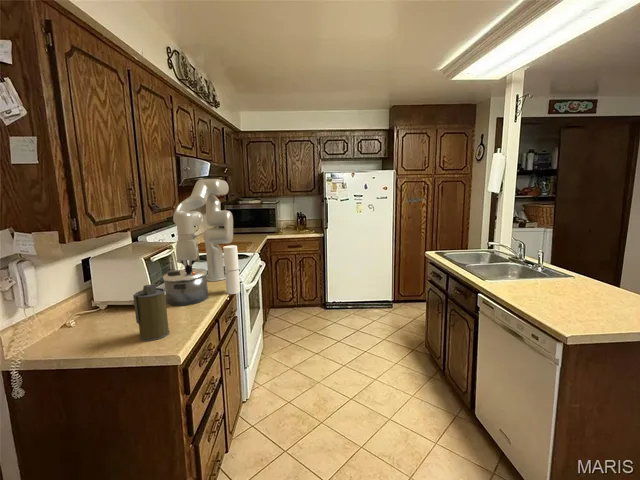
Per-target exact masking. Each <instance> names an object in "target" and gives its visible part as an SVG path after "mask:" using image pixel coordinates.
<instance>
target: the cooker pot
mask: <svg viewBox="0 0 640 480" xmlns="http://www.w3.org/2000/svg"><path fill="white" fill-rule="evenodd" d="M207 276H208V274H206V275H205V276H203V277H201V278H198V279H194V280H188V281H180V282H169V281H165V280H163V281H164V282H163V283H164V289H165V300H166V305H169V306H172V307H185V306H192V305H197V304H199V303H202V302H205V301H206V300H208V299H209V289H208V281H207Z"/></svg>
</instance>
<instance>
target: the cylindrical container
mask: <svg viewBox="0 0 640 480" xmlns="http://www.w3.org/2000/svg"><path fill="white" fill-rule="evenodd" d="M222 252H223V265H224V275H225V278H226V279H225V288H226V289H225V291H226V294H228V295H235V294H239V293H241V283H240V282H241V281H240V271H239V256H238V255H239V254H238V246H237V245H226V246H223V247H222Z"/></svg>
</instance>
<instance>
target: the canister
mask: <svg viewBox="0 0 640 480" xmlns="http://www.w3.org/2000/svg"><path fill="white" fill-rule="evenodd" d="M133 305H134V312H135V313H134V314H135V321H136V324H138V329H139V340H140V341H144V342H151V341H152V342H153V341H157V340H160V339H163V338H165V337H168V335H169V334H170V328H169V319H168V313H167V312H168V311H167V303H166V293H165V288H161V287H158V284H157V283H150V284H145V285H143V288H142V290H139V291H137V292H135V293H134V294H133Z"/></svg>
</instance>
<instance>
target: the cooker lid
mask: <svg viewBox="0 0 640 480" xmlns="http://www.w3.org/2000/svg"><path fill="white" fill-rule="evenodd" d="M205 275H208V269H205V268H197V267H195V268H192V272H191V274H187V272H185V268H184V269H179V270H178V269H177V270H169V271H167V273H165V274H163V276H162V280H163V281H164V280H165V281H169V282H180V281H188V280H194V279H198V278H201V277H203V276H205Z"/></svg>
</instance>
